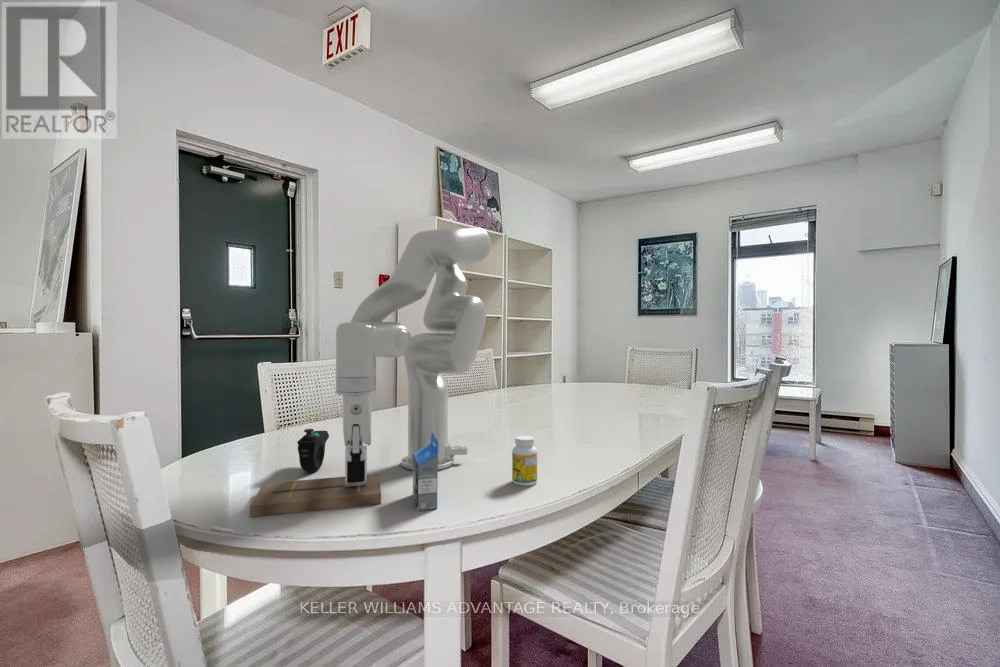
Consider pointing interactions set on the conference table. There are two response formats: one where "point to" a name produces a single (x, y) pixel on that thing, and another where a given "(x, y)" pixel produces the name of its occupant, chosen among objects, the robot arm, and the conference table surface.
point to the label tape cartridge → (426, 476)
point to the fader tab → (360, 460)
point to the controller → (312, 449)
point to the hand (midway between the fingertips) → (355, 477)
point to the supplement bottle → (524, 461)
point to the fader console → (313, 495)
